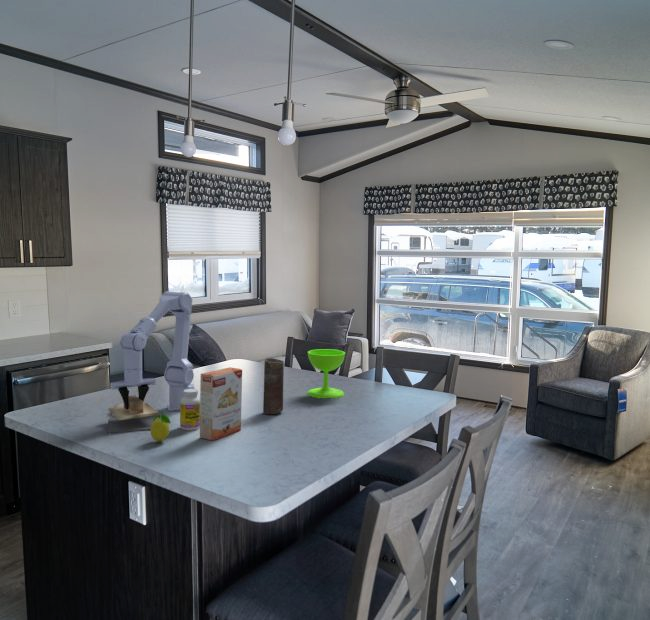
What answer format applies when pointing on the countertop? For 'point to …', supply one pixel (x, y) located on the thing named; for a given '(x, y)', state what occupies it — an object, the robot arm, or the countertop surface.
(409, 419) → the countertop surface
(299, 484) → the countertop surface
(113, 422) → the charcoal mat
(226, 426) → the cracker box
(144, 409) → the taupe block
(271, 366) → the candle
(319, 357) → the wineglass
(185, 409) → the supplement bottle
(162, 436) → the lemon
